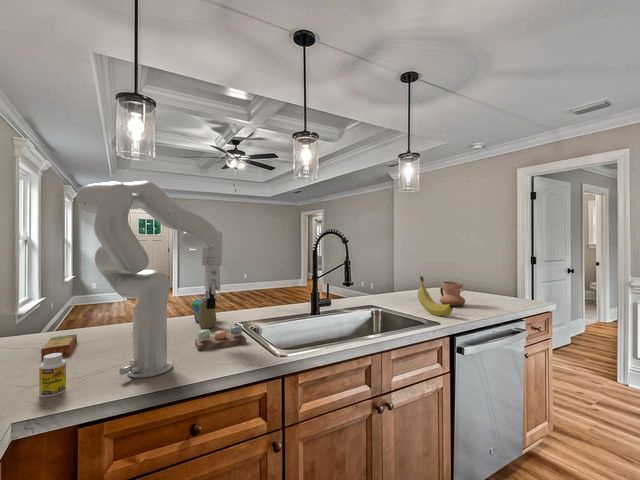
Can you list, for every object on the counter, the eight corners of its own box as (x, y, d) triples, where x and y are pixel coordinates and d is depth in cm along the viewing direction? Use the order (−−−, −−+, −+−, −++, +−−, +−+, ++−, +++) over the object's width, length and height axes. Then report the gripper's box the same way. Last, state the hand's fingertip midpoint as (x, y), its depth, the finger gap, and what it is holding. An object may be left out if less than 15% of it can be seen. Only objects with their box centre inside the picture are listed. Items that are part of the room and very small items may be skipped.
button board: (198, 350, 121) (198, 344, 121) (194, 344, 129) (194, 338, 129) (246, 343, 129) (246, 337, 129) (240, 337, 137) (240, 332, 137)
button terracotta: (215, 340, 126) (215, 334, 126) (213, 337, 130) (213, 331, 130) (227, 338, 128) (227, 332, 128) (225, 335, 132) (225, 330, 132)
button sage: (198, 339, 123) (198, 333, 123) (197, 336, 127) (197, 330, 127) (211, 337, 125) (211, 331, 125) (209, 334, 129) (209, 328, 129)
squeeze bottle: (210, 330, 148) (210, 290, 148) (194, 329, 150) (194, 290, 150) (219, 325, 156) (219, 288, 156) (204, 324, 158) (204, 287, 158)
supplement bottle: (38, 400, 84) (37, 360, 84) (40, 392, 89) (40, 354, 89) (65, 394, 87) (65, 356, 87) (66, 386, 92) (66, 350, 92)
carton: (40, 360, 113) (40, 348, 113) (50, 347, 127) (50, 336, 127) (70, 356, 117) (70, 344, 117) (77, 344, 131) (77, 333, 131)
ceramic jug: (472, 307, 196) (472, 283, 196) (453, 309, 191) (453, 284, 191) (450, 302, 213) (450, 280, 213) (432, 303, 208) (432, 281, 208)
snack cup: (211, 324, 159) (211, 303, 159) (188, 325, 157) (188, 304, 157) (215, 317, 174) (215, 297, 174) (195, 317, 172) (195, 298, 172)
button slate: (232, 334, 129) (232, 328, 129) (229, 332, 133) (229, 326, 133) (243, 333, 131) (243, 327, 131) (240, 330, 135) (240, 324, 135)
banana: (456, 318, 169) (456, 279, 169) (448, 319, 166) (448, 280, 166) (422, 310, 189) (422, 275, 189) (415, 311, 186) (415, 276, 186)
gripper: (225, 262, 124) (224, 311, 123) (218, 261, 137) (217, 305, 137) (204, 262, 121) (203, 312, 120) (199, 261, 134) (198, 306, 133)
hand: (210, 308), depth 128 cm, fingers closed
